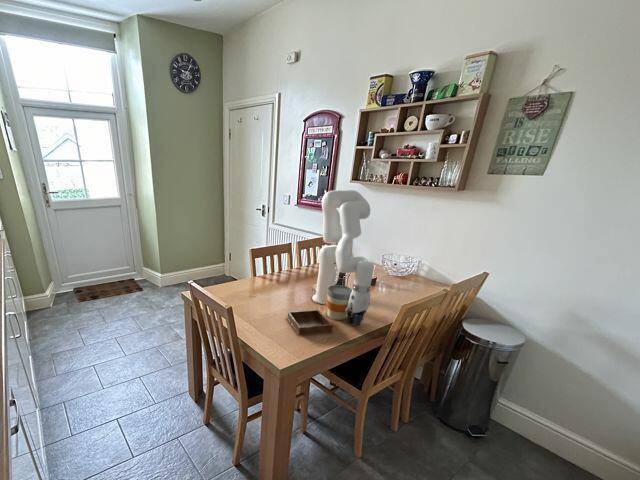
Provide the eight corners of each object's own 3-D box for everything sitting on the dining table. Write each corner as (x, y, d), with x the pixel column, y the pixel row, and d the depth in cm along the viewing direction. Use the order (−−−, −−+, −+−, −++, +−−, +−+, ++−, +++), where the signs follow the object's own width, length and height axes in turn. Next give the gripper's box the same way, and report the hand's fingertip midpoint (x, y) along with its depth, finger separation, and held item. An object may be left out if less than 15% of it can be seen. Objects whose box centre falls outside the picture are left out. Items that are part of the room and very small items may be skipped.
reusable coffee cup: (327, 308, 177) (331, 283, 171) (351, 314, 171) (356, 288, 165) (320, 318, 167) (324, 291, 161) (345, 324, 161) (350, 296, 155)
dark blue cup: (357, 319, 163) (359, 309, 160) (364, 326, 157) (367, 315, 154) (344, 320, 162) (346, 309, 159) (351, 327, 156) (353, 316, 153)
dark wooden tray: (317, 316, 168) (318, 309, 167) (331, 332, 154) (332, 325, 152) (287, 319, 165) (288, 311, 164) (298, 335, 151) (299, 327, 149)
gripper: (354, 294, 145) (348, 329, 152) (380, 287, 153) (373, 320, 160) (341, 288, 150) (336, 322, 158) (367, 281, 159) (360, 314, 166)
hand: (355, 321), depth 159 cm, fingers closed on dark blue cup, 7 cm apart
